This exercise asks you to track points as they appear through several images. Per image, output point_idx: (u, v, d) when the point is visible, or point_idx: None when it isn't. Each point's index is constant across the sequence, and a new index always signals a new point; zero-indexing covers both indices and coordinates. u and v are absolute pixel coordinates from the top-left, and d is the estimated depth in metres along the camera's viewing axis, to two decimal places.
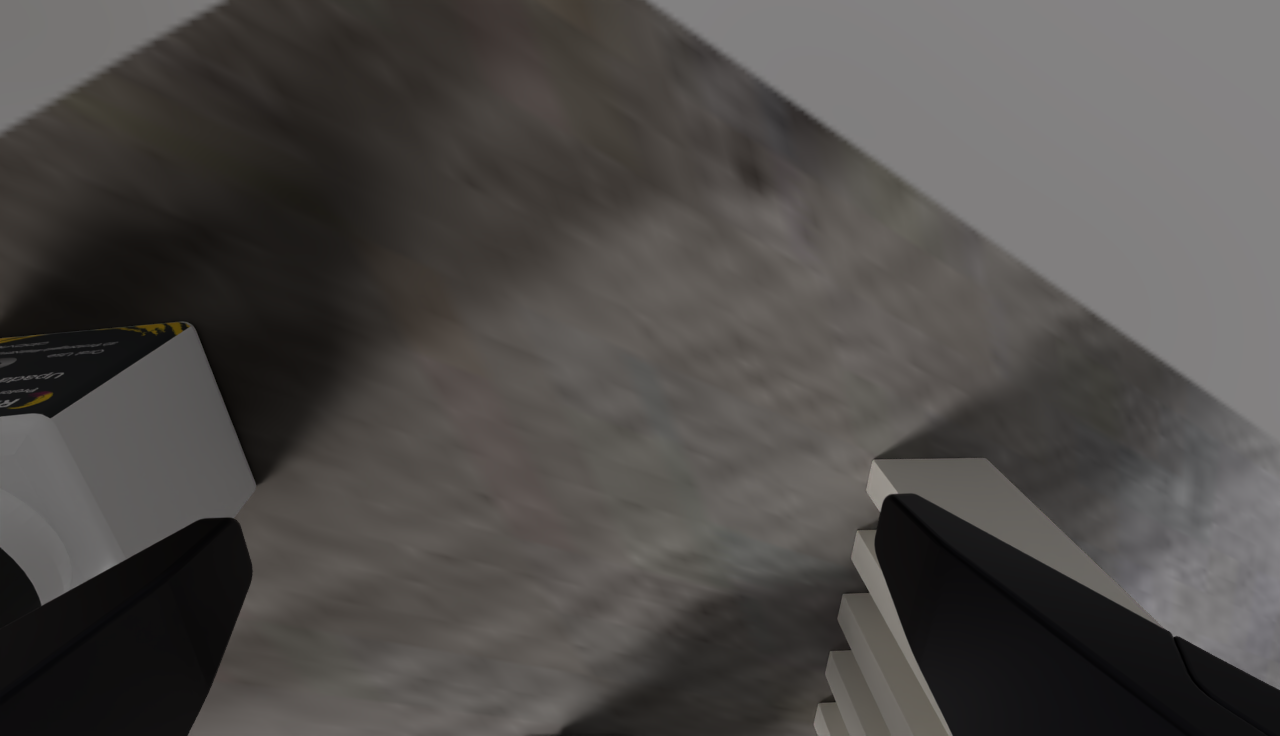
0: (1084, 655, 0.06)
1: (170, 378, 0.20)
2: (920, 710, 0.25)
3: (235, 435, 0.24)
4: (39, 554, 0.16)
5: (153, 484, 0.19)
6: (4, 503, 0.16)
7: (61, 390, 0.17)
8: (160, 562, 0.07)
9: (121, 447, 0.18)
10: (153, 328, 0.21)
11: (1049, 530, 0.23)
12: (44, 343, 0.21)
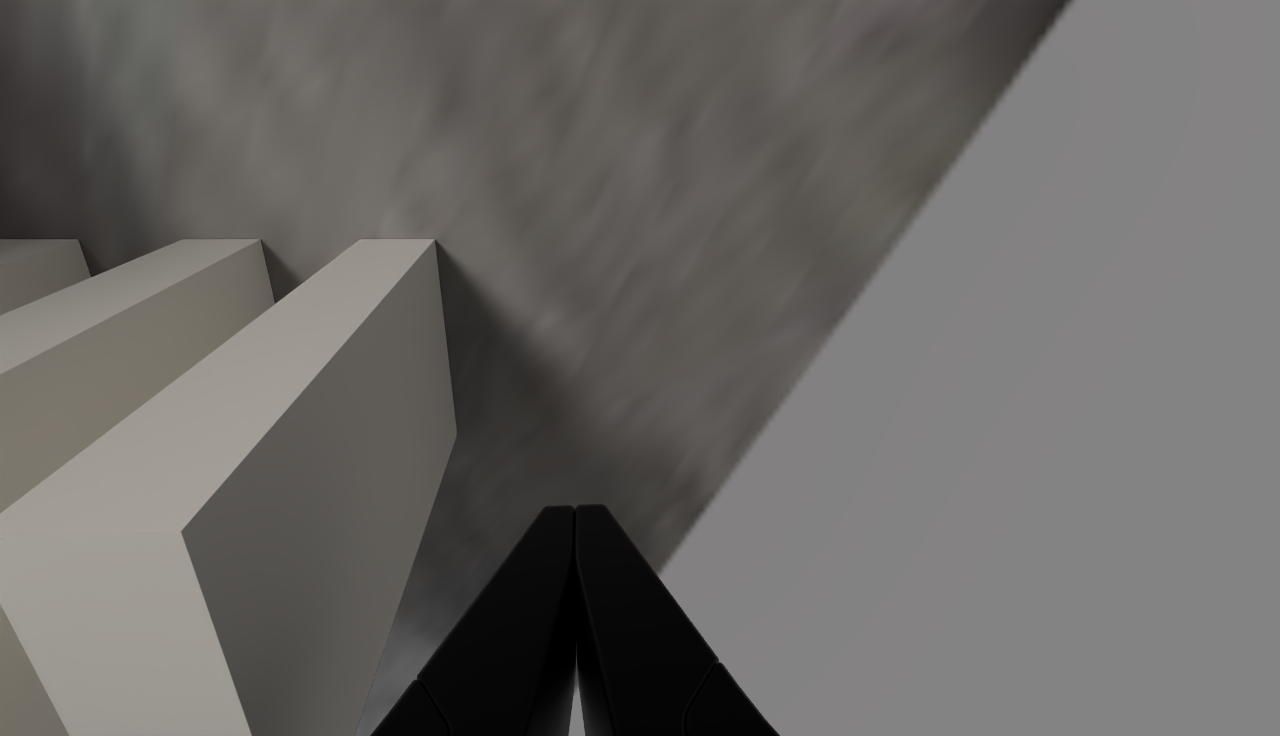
0: (605, 684, 0.06)
1: None
2: None
3: None
4: None
5: None
6: None
7: None
8: (554, 546, 0.08)
9: None
10: None
11: (409, 545, 0.12)
12: None
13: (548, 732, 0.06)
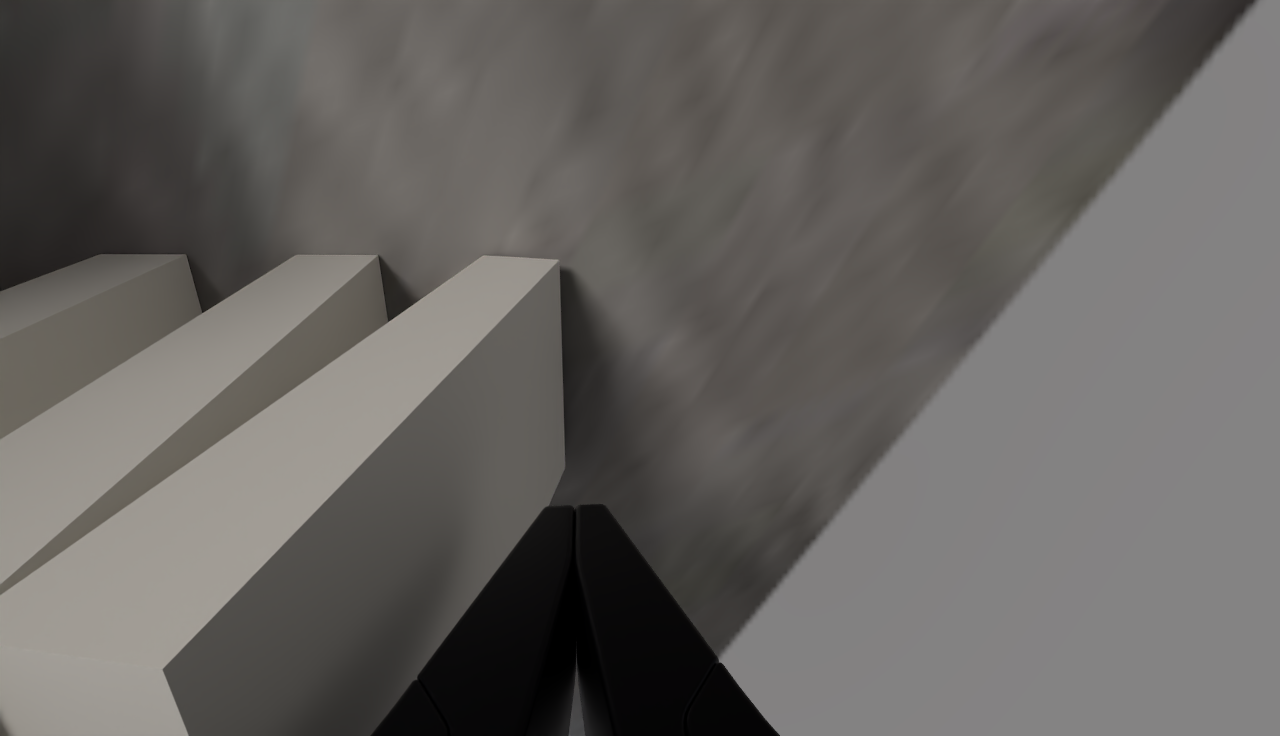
0: (605, 683, 0.06)
1: None
2: None
3: None
4: None
5: None
6: None
7: None
8: (554, 546, 0.08)
9: None
10: None
11: None
12: None
13: (548, 732, 0.06)
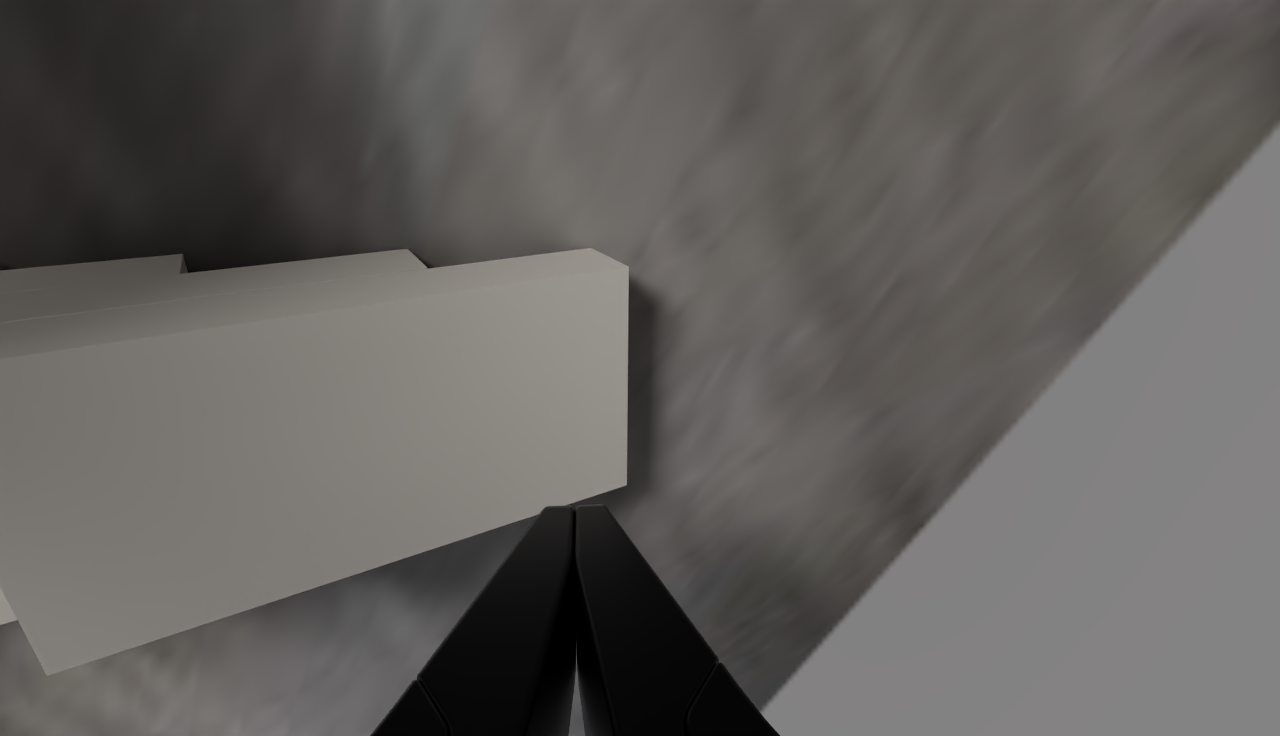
0: (605, 683, 0.06)
1: None
2: None
3: None
4: None
5: None
6: None
7: None
8: (554, 546, 0.08)
9: None
10: None
11: (402, 538, 0.12)
12: None
13: (548, 732, 0.06)
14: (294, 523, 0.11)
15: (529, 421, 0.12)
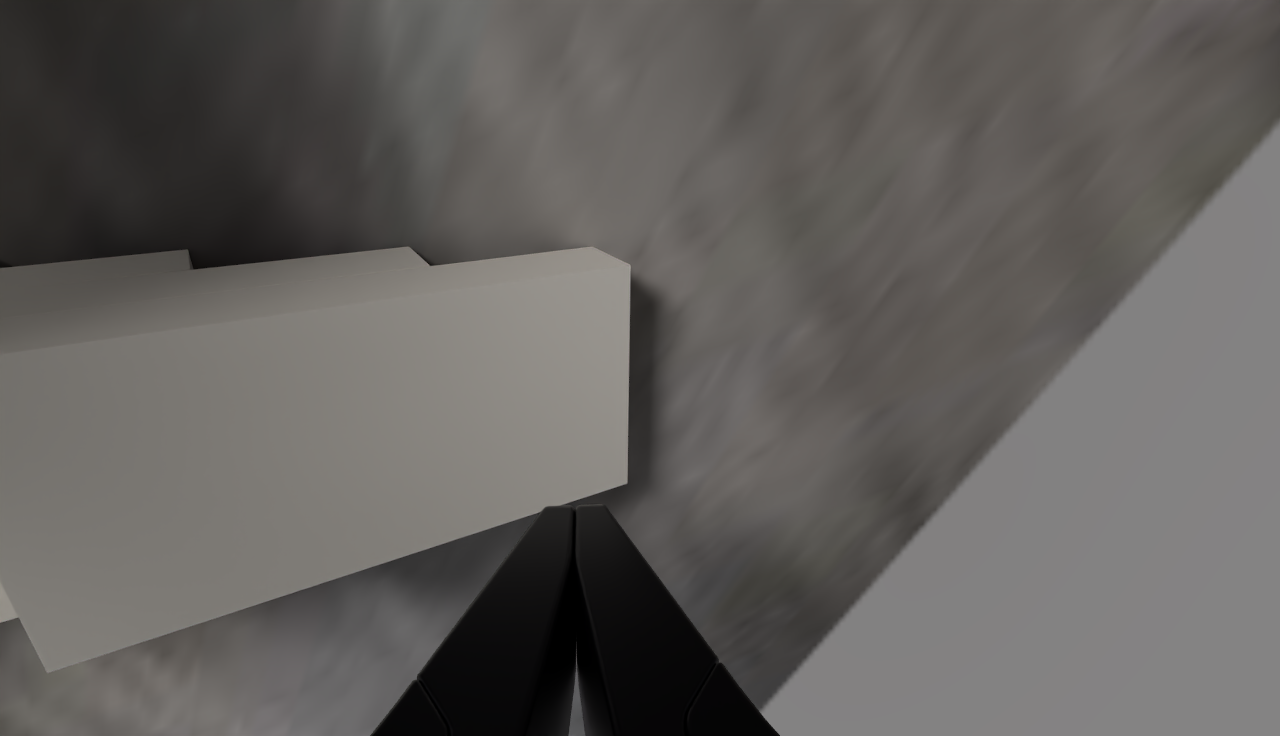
0: (605, 683, 0.06)
1: None
2: None
3: None
4: None
5: None
6: None
7: None
8: (554, 546, 0.08)
9: None
10: None
11: (404, 536, 0.12)
12: None
13: (548, 732, 0.06)
14: (296, 520, 0.11)
15: (531, 419, 0.12)
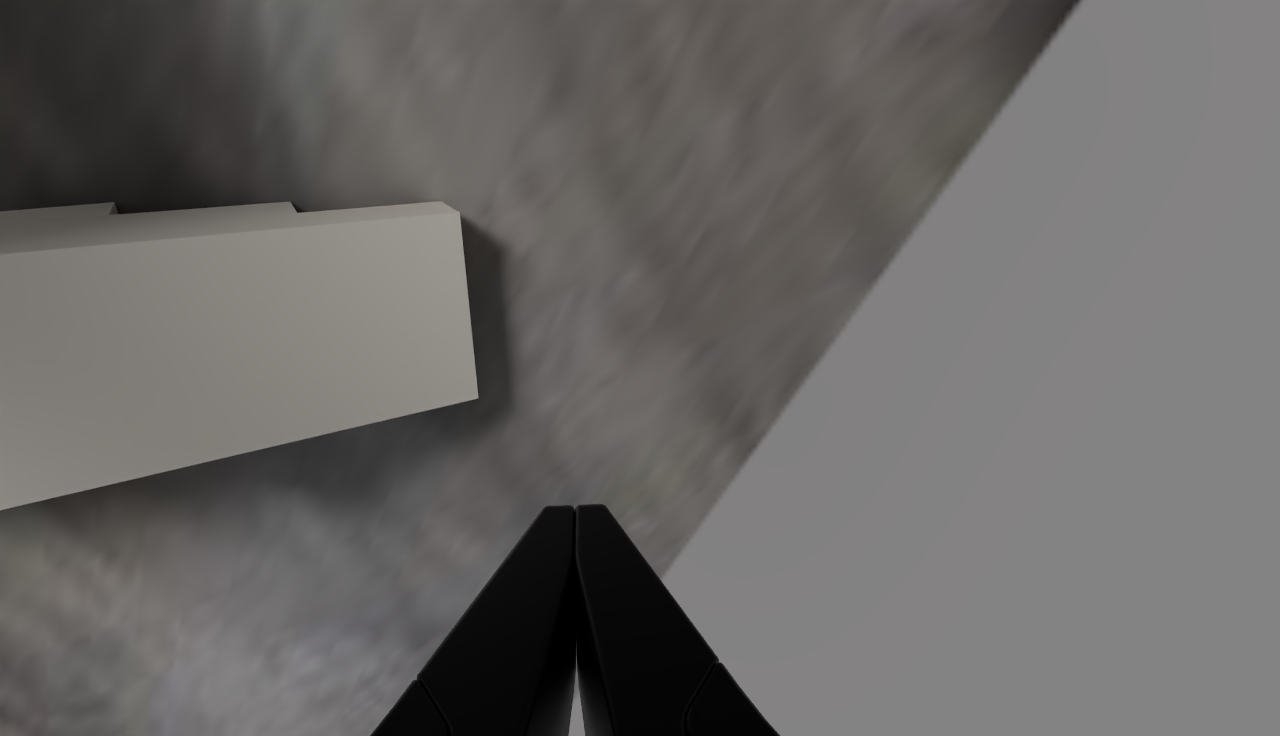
0: (605, 683, 0.06)
1: None
2: None
3: None
4: None
5: None
6: None
7: None
8: (554, 546, 0.08)
9: None
10: None
11: (277, 427, 0.15)
12: None
13: (548, 732, 0.06)
14: (182, 407, 0.14)
15: (382, 337, 0.15)
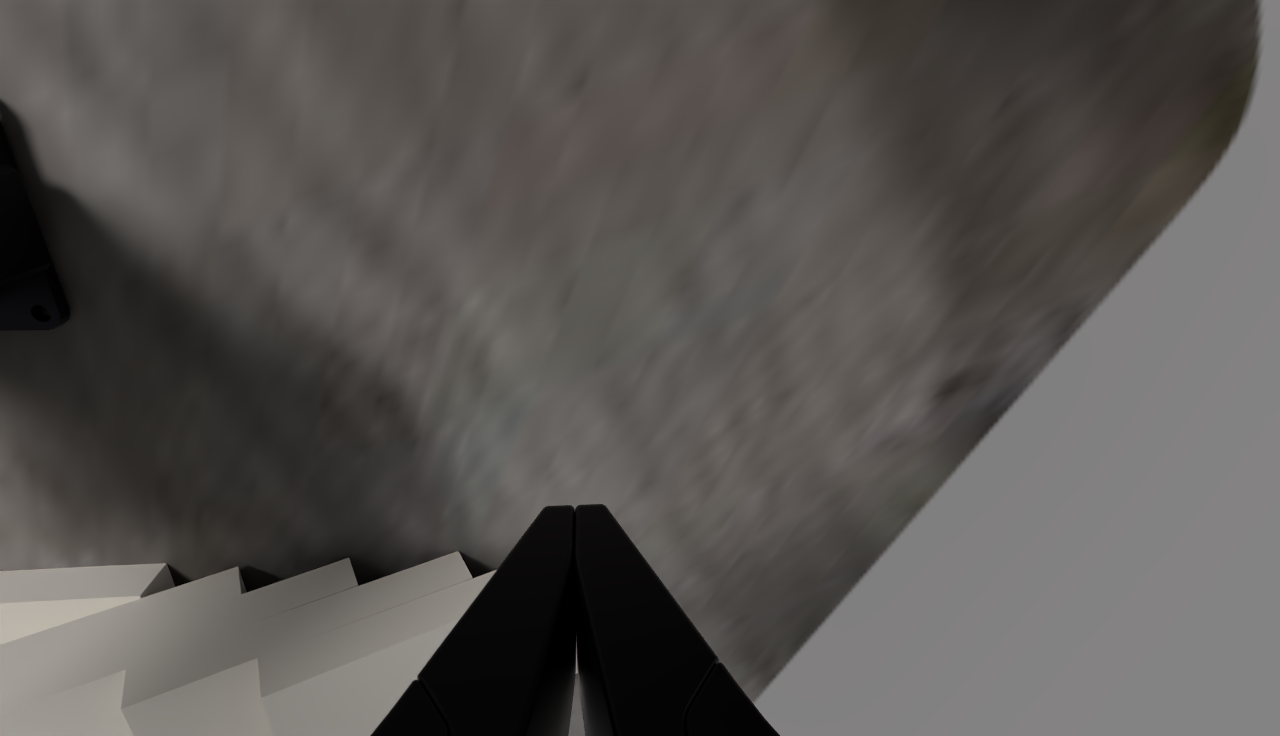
0: (605, 683, 0.06)
1: None
2: None
3: None
4: None
5: None
6: None
7: None
8: (554, 546, 0.08)
9: None
10: None
11: None
12: None
13: (548, 732, 0.06)
14: None
15: None
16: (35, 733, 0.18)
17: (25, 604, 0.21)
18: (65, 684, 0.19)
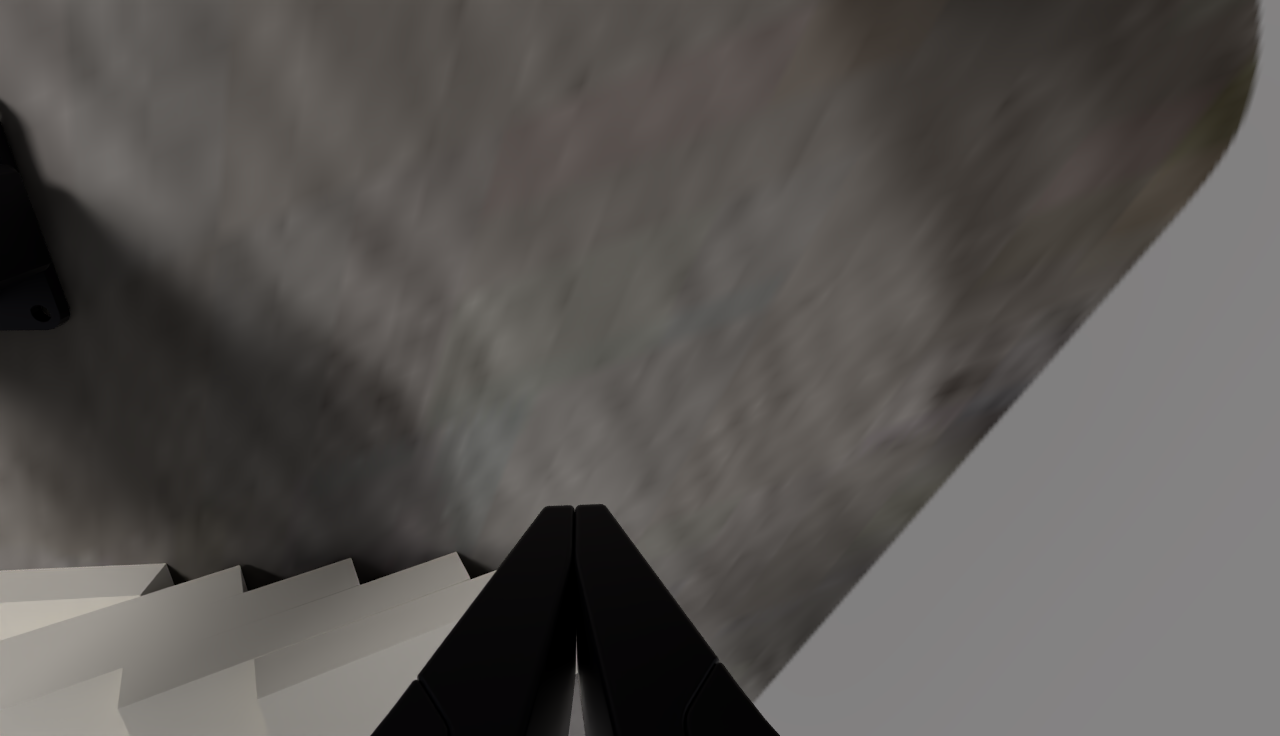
0: (605, 683, 0.06)
1: None
2: None
3: None
4: None
5: None
6: None
7: None
8: (554, 546, 0.08)
9: None
10: None
11: None
12: None
13: (548, 732, 0.06)
14: None
15: None
16: (36, 728, 0.18)
17: (25, 603, 0.21)
18: (67, 680, 0.19)
